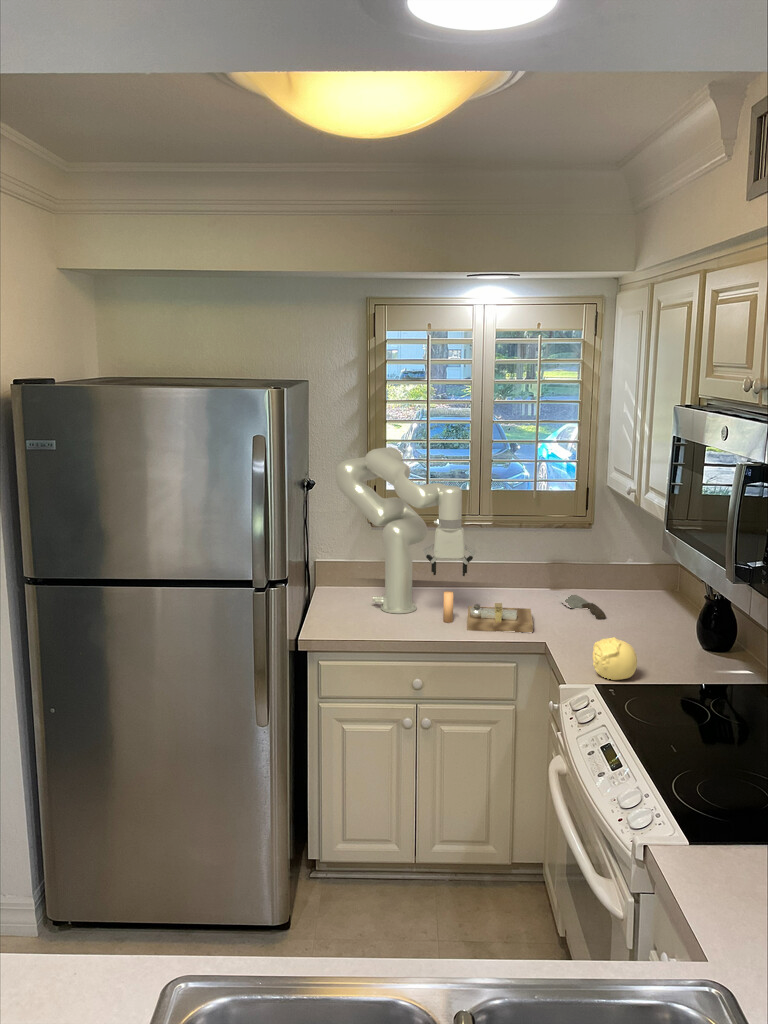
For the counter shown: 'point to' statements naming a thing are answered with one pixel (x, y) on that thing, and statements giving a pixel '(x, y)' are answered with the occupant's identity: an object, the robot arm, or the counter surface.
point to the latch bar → (492, 613)
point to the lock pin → (448, 607)
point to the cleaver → (585, 606)
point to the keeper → (498, 612)
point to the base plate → (489, 624)
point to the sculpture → (614, 659)
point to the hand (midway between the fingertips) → (449, 574)
